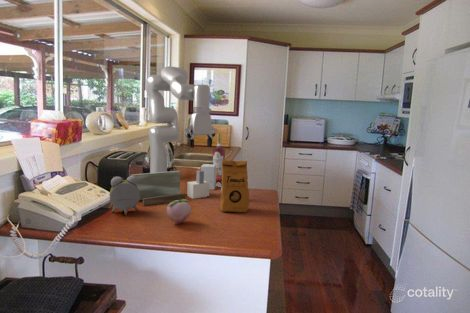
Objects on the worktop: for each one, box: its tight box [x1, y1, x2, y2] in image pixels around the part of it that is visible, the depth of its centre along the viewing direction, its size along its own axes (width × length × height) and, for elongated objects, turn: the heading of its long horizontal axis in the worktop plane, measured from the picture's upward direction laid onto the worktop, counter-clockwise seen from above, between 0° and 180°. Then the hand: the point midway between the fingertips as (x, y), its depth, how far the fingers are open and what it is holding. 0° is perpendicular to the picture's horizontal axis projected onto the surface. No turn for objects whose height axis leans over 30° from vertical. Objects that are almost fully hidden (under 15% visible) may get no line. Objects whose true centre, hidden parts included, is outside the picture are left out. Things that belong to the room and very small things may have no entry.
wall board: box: [130, 170, 186, 207], centre depth 161 cm, size 11×24×12 cm, turn 125°
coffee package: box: [219, 159, 250, 213], centre depth 148 cm, size 10×12×22 cm
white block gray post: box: [186, 169, 210, 200], centre depth 170 cm, size 6×9×13 cm, turn 125°
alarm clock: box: [109, 175, 140, 216], centre depth 140 cm, size 12×7×15 cm, turn 111°
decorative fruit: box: [166, 198, 192, 224], centre depth 130 cm, size 9×8×10 cm
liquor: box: [212, 133, 226, 183], centre depth 204 cm, size 7×7×28 cm
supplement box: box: [200, 163, 217, 191], centre depth 187 cm, size 7×7×13 cm
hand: (200, 147), depth 166 cm, fingers open, 9 cm apart
